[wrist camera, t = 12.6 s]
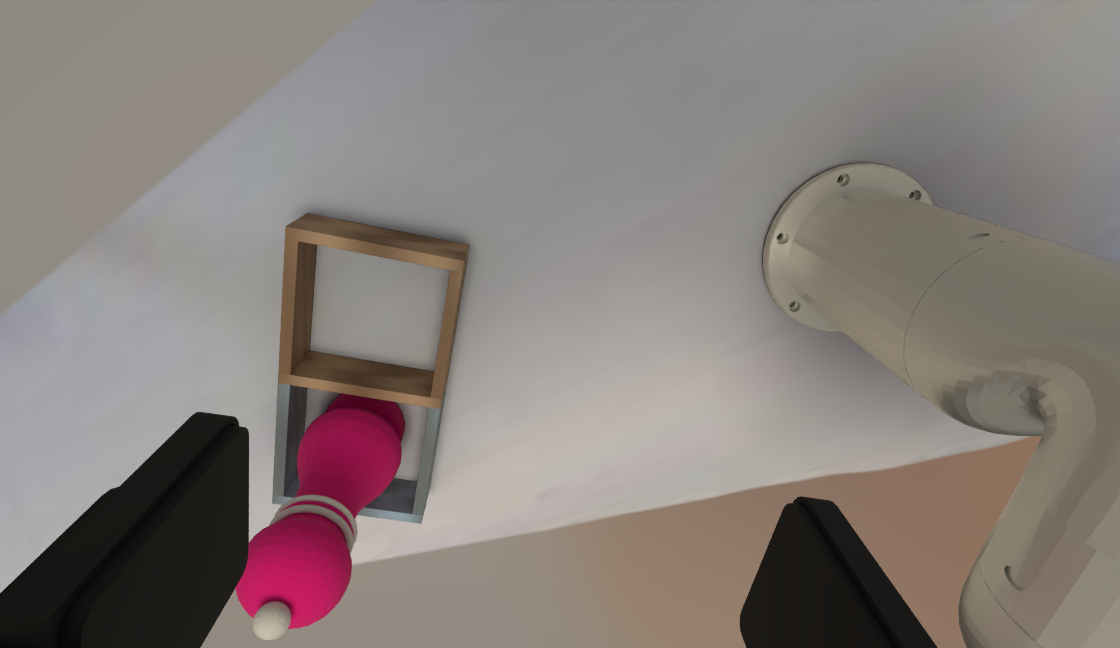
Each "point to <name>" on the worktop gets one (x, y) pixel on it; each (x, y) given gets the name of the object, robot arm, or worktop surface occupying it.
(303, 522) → the pepper mill
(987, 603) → the robot arm
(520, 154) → the worktop surface
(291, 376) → the organizer
